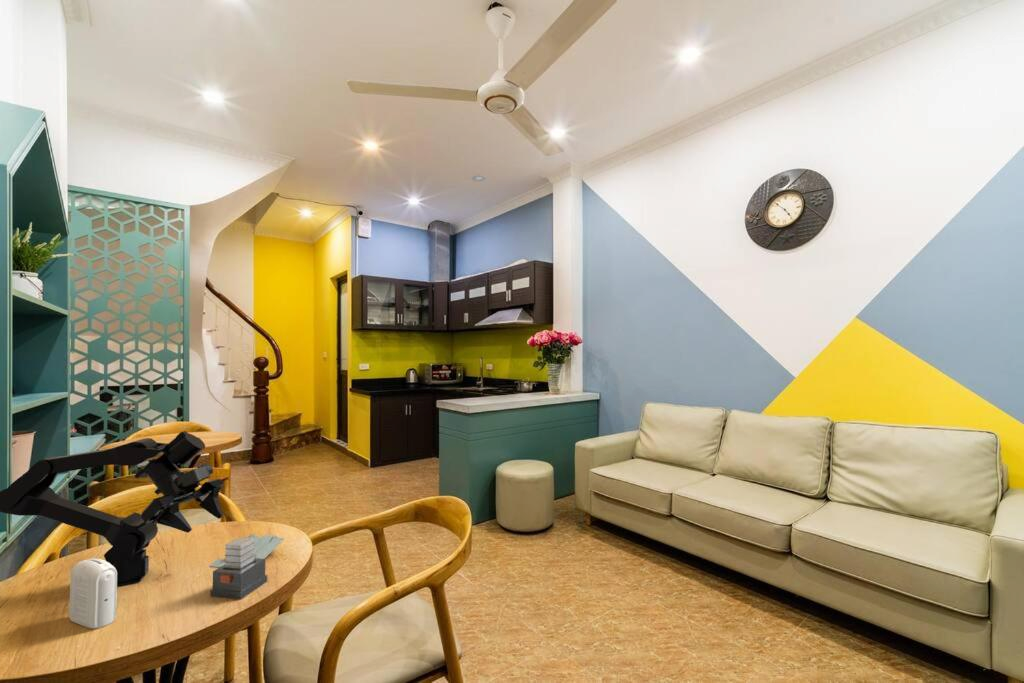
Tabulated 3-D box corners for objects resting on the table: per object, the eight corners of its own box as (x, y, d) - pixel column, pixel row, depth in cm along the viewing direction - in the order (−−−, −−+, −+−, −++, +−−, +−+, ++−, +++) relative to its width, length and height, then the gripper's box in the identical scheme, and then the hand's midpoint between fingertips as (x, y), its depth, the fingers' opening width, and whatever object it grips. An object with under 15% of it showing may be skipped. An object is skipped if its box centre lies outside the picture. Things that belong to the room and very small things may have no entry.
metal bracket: (246, 528, 126) (291, 531, 123) (250, 545, 127) (295, 548, 124) (203, 564, 112) (253, 568, 109) (208, 583, 113) (258, 588, 110)
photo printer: (119, 619, 90) (121, 559, 91) (93, 632, 86) (95, 568, 87) (91, 610, 94) (92, 552, 95) (65, 621, 90) (66, 560, 91)
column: (224, 584, 100) (224, 544, 101) (239, 575, 105) (239, 537, 105) (240, 585, 100) (240, 545, 100) (254, 576, 104) (254, 537, 104)
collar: (209, 597, 99) (209, 572, 99) (238, 579, 107) (238, 556, 107) (240, 599, 97) (240, 574, 97) (267, 581, 105) (267, 558, 105)
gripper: (153, 464, 100) (194, 514, 98) (218, 448, 119) (254, 490, 117) (122, 498, 101) (163, 548, 99) (192, 477, 119) (227, 519, 117)
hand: (206, 524), depth 108 cm, fingers open, 9 cm apart
